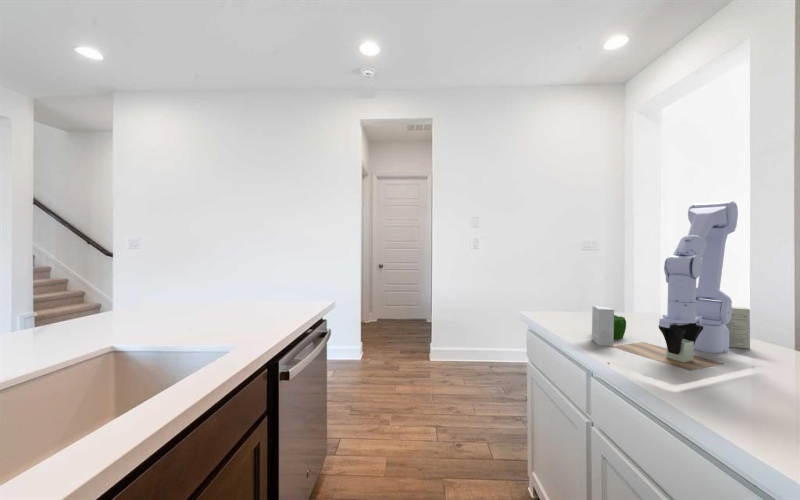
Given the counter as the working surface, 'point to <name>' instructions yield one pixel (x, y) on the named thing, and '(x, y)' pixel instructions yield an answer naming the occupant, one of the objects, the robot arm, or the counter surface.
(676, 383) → the counter surface
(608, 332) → the skincare box
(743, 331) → the skincare box
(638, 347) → the board
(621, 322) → the bell pepper
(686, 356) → the sage cube with dome
